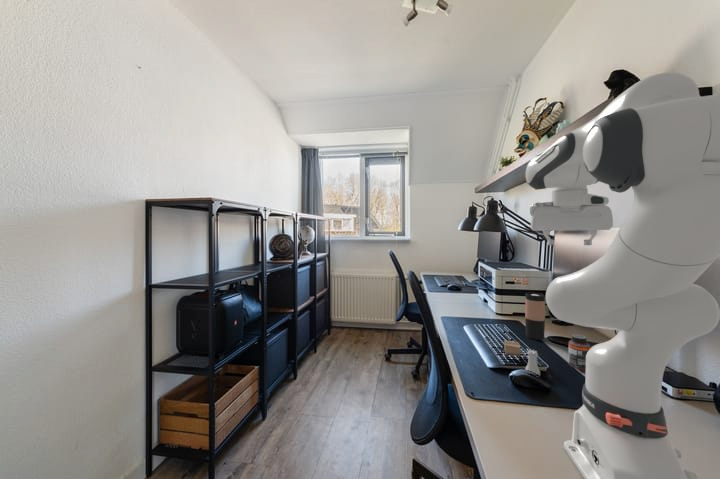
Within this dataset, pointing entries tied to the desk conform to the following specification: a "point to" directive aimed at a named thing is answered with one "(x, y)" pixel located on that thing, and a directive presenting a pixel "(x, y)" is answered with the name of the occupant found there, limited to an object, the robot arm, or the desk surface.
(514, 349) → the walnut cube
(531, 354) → the rook chess piece
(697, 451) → the desk surface
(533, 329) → the travel mug
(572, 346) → the supplement bottle
